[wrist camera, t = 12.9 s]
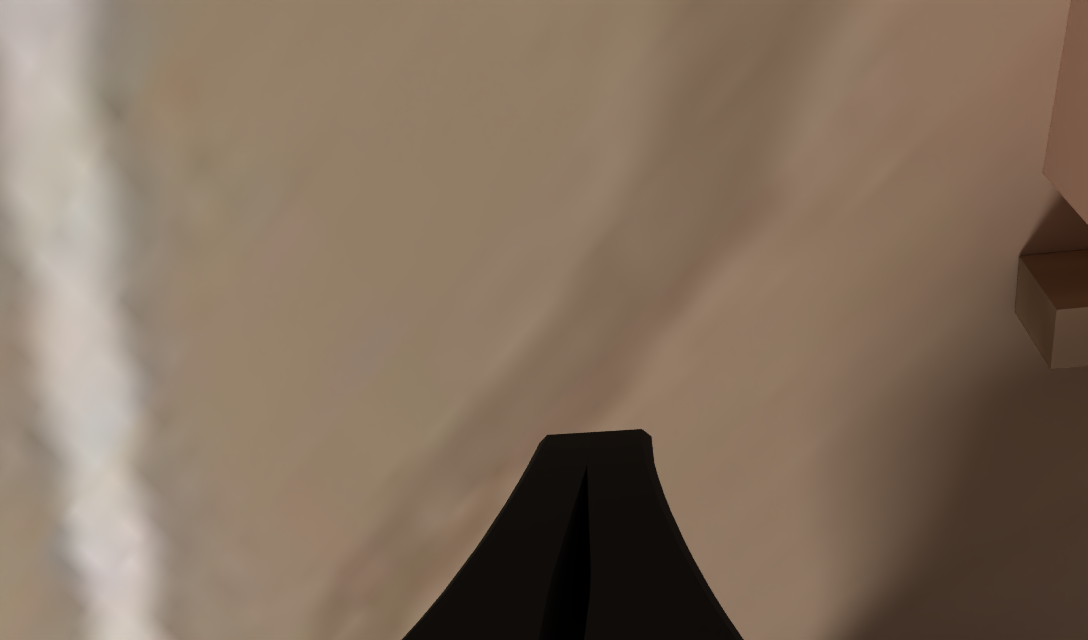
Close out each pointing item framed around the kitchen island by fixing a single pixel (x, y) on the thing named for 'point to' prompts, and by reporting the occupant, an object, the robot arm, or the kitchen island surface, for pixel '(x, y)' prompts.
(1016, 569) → the kitchen island surface
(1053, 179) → the terracotta jar
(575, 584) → the robot arm
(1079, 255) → the lane
